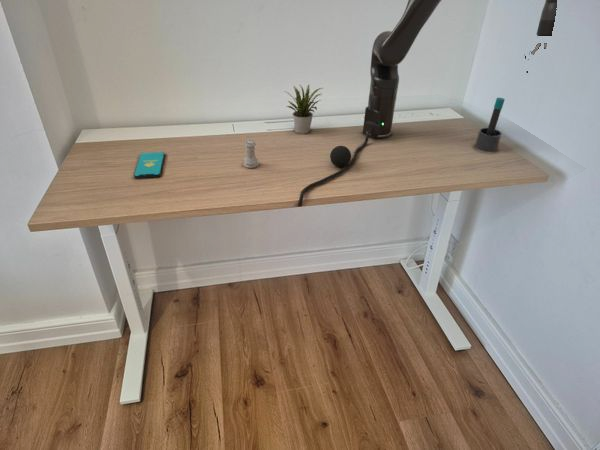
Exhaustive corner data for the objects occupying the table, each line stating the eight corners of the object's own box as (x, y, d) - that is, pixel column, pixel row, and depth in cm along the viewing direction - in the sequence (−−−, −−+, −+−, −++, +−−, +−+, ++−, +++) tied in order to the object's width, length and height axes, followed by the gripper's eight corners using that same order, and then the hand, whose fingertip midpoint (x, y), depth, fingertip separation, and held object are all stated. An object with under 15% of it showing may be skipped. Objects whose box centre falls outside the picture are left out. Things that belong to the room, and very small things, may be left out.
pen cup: (488, 155, 138) (494, 138, 135) (470, 147, 142) (475, 130, 139) (500, 149, 142) (506, 133, 138) (482, 142, 146) (487, 126, 142)
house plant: (332, 129, 152) (336, 84, 143) (313, 142, 143) (315, 94, 133) (299, 120, 158) (300, 76, 149) (278, 132, 149) (278, 86, 139)
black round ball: (355, 144, 132) (348, 145, 123) (355, 164, 134) (349, 167, 124) (335, 145, 134) (327, 146, 125) (336, 165, 136) (328, 168, 126)
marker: (487, 149, 140) (502, 100, 131) (480, 146, 142) (495, 98, 132) (491, 147, 142) (506, 99, 132) (484, 144, 143) (499, 97, 133)
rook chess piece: (257, 169, 127) (256, 144, 122) (242, 168, 127) (241, 144, 122) (259, 162, 130) (258, 138, 126) (244, 161, 130) (243, 137, 126)
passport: (164, 151, 133) (159, 174, 121) (164, 153, 133) (160, 176, 121) (140, 153, 132) (133, 176, 120) (141, 155, 132) (134, 178, 120)
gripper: (526, 19, 135) (514, 72, 142) (562, 18, 123) (547, 77, 129) (545, 20, 137) (532, 73, 144) (582, 19, 125) (566, 77, 131)
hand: (539, 74), depth 137 cm, fingers open, 8 cm apart
